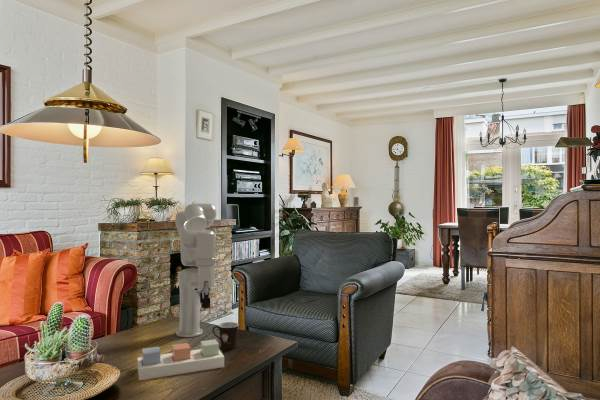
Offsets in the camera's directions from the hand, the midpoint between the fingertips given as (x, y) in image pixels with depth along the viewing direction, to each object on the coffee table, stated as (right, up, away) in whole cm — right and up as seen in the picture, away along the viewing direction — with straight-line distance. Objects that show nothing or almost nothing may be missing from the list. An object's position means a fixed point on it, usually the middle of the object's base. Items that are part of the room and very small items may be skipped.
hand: (205, 305), depth 164 cm
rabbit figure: (-48, -23, -1) cm, 53 cm away
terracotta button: (-8, -20, -5) cm, 22 cm away
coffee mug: (+5, -24, +19) cm, 30 cm away
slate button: (-18, -20, -10) cm, 28 cm away
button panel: (-8, -23, -5) cm, 25 cm away
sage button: (+2, -20, -1) cm, 20 cm away
